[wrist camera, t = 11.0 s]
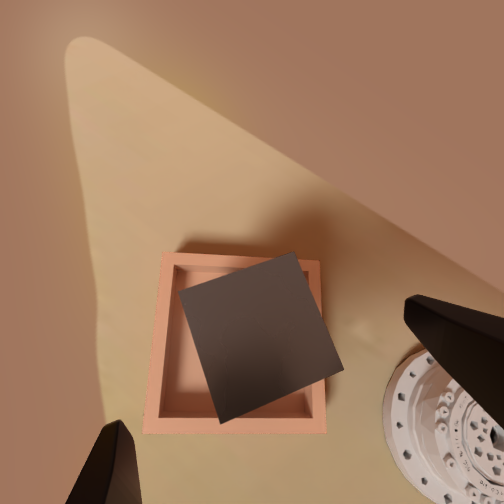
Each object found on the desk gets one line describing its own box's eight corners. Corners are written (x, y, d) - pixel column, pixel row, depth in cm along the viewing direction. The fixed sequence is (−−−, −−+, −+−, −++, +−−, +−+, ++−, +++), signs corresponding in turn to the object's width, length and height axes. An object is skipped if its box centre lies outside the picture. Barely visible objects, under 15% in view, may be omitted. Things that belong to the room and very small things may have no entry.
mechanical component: (522, 381, 24) (401, 325, 24) (589, 389, 19) (441, 320, 20) (501, 532, 20) (361, 465, 21) (574, 580, 16) (399, 495, 17)
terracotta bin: (313, 423, 21) (326, 433, 18) (150, 423, 20) (142, 433, 17) (309, 268, 24) (319, 260, 22) (168, 261, 23) (162, 251, 21)
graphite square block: (280, 358, 21) (344, 369, 11) (217, 384, 20) (220, 424, 10) (257, 296, 22) (294, 251, 12) (196, 318, 21) (177, 291, 11)
